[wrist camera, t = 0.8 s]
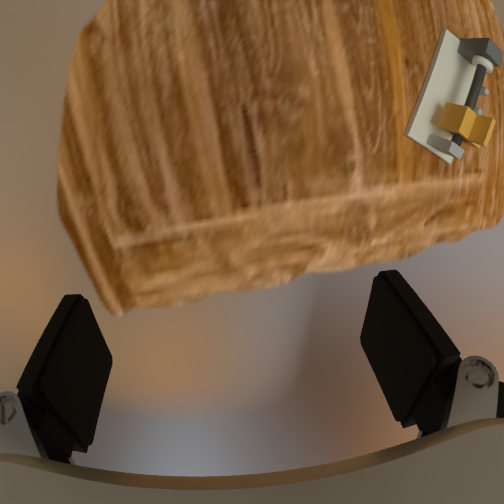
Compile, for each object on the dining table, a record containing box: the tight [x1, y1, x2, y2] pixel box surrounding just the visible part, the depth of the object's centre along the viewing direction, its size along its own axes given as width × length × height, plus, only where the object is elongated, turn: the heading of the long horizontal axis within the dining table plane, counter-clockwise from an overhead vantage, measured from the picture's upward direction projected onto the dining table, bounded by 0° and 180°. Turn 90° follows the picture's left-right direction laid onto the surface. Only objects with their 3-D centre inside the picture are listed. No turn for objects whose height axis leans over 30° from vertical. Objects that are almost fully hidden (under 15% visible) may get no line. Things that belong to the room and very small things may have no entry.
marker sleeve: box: [437, 102, 496, 149], centre depth 31 cm, size 4×5×8 cm
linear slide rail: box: [404, 29, 503, 164], centre depth 33 cm, size 20×10×8 cm, turn 160°
